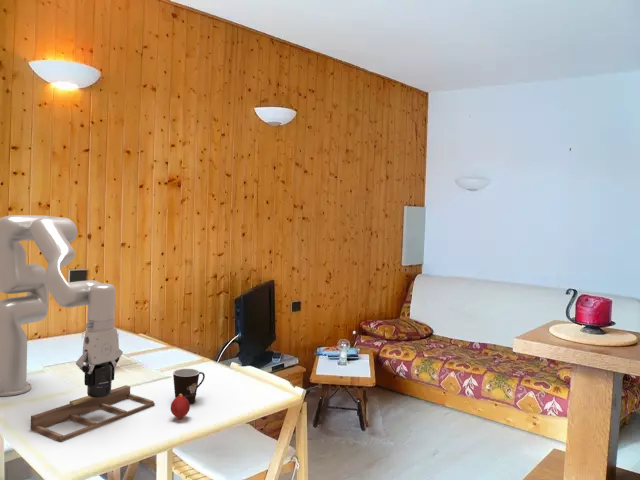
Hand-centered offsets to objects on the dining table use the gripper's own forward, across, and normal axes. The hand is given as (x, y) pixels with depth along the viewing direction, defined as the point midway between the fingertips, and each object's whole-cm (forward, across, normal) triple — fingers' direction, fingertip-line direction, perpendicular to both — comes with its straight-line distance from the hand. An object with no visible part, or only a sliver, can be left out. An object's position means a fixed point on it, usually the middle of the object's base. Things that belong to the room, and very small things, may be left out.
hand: (99, 382), depth 166 cm
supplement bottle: (+4, 0, 0) cm, 4 cm away
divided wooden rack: (+11, 0, 0) cm, 11 cm away
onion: (+11, +14, -20) cm, 27 cm away
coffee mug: (+11, +27, -12) cm, 32 cm away
